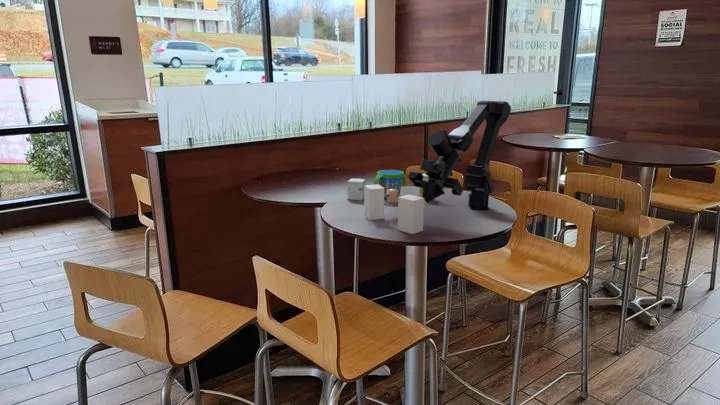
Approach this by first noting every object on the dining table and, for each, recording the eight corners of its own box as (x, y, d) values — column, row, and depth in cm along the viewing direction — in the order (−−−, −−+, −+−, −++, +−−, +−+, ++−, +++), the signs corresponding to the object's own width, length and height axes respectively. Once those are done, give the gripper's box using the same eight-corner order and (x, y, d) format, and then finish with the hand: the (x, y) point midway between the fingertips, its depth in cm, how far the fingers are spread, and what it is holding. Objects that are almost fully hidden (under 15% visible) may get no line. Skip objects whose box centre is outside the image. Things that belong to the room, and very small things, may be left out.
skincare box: (347, 199, 189) (347, 181, 187) (351, 195, 195) (351, 177, 193) (362, 200, 188) (362, 181, 186) (366, 196, 193) (366, 178, 192)
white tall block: (378, 213, 170) (378, 184, 167) (383, 218, 164) (384, 188, 161) (364, 215, 168) (364, 185, 165) (369, 219, 163) (369, 189, 160)
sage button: (416, 210, 156) (416, 197, 155) (427, 213, 153) (427, 199, 152) (402, 214, 151) (403, 200, 150) (413, 217, 148) (414, 203, 147)
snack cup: (397, 192, 201) (397, 167, 198) (413, 197, 192) (414, 171, 190) (366, 197, 193) (366, 171, 190) (381, 202, 184) (382, 176, 182)
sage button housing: (408, 226, 156) (408, 194, 153) (422, 230, 151) (423, 197, 149) (397, 229, 152) (398, 197, 150) (412, 234, 148) (413, 200, 145)
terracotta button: (393, 199, 169) (394, 187, 168) (398, 203, 165) (398, 190, 164) (376, 201, 167) (376, 188, 166) (380, 204, 163) (380, 191, 162)
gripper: (411, 146, 159) (388, 185, 155) (459, 153, 146) (435, 195, 142) (426, 167, 167) (404, 204, 162) (473, 175, 154) (450, 215, 149)
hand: (422, 204), depth 154 cm, fingers closed, pressing on sage button
